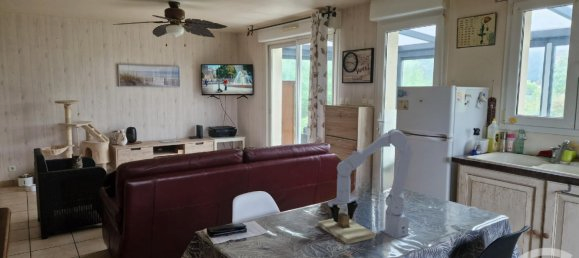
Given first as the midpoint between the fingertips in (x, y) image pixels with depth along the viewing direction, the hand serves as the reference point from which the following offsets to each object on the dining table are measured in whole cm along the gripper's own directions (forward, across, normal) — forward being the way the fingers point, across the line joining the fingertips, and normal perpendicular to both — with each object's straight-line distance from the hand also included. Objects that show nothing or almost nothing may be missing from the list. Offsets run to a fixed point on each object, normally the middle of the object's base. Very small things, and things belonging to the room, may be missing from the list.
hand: (343, 220), depth 162 cm
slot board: (+4, 0, +2) cm, 5 cm away
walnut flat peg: (+4, 0, 0) cm, 4 cm away
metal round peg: (+4, -10, -12) cm, 16 cm away
